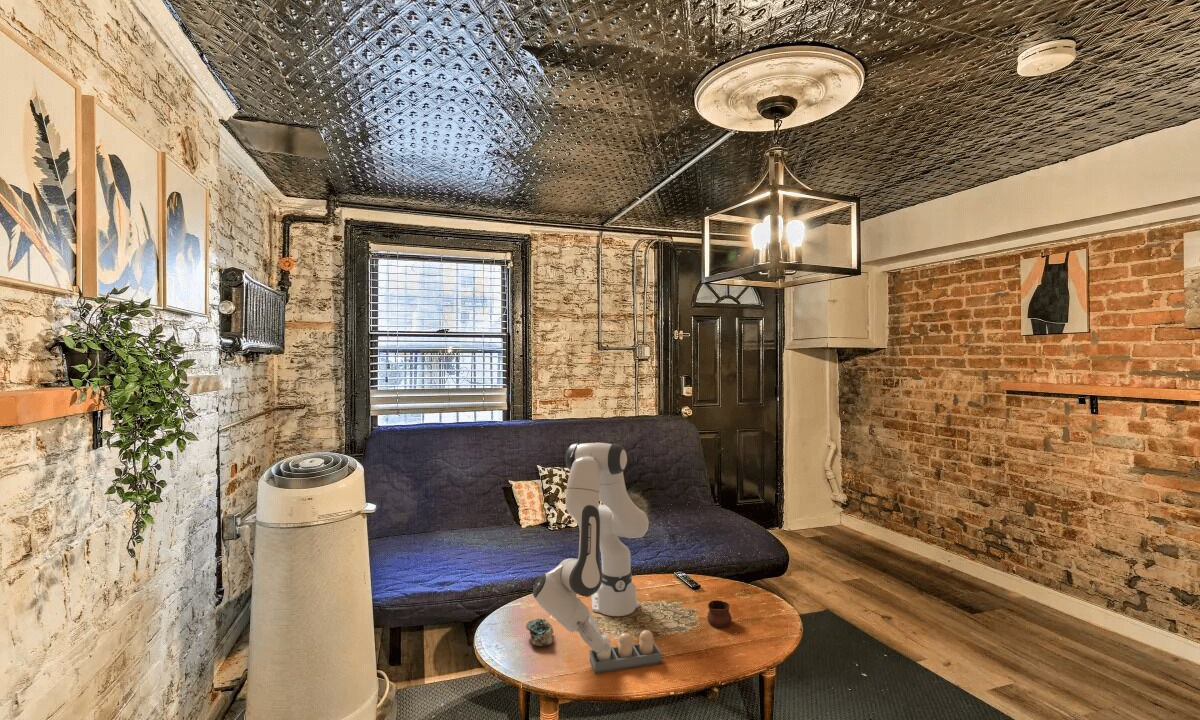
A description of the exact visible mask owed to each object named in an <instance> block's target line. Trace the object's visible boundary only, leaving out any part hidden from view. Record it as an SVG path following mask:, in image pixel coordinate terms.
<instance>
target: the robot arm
mask: <svg viewBox="0 0 1200 720" xmlns="http://www.w3.org/2000/svg"><path fill="white" fill-rule="evenodd" d="M627 456H628V455H627V451H626V449H625V448H624V446H622V445H620V444H618V443H606V442H585V443H583V442H578V443H577V442H576V443H572V444H571V445H570V446H569V447H568V448H567V449H566V453H565V465H566V467H567V469H568V470H569V474H568V479H567V483H566V491H565V501H564V502H565V509H566V512H567V513H568V514H569V515H570V517H572V518H573V519H574V520H575V522H576V523H577V525H578V528H579V530H578V531H579V542H578V558H571V557H569V558H568V557H567V558H566V559H563V560H561V562H559V563H558V565H557V566H556V567H554V568H553V569H551V570H550V571H548V572H544V573H542V574H540V575H539V577H538V578H537V579H536V580H535V583H534V585H533V589H532V595H533V598H534V599H535V602H537V603H538V605H539V607H541V609H543V610H544V611H545V612H547V614H549V615H551V616H553V617H554V618H555V619H556V621H557V622H558V623H559V624H560V625H562V627H564V628H565V629H566V630H567V631H568V632H570V633H573V632H576V633H579V635H580V638H581V639H582V640H583V641H584V642H585V644H587V645H588V647H590V649H591V650H594V651H595V652H596V653H600V652H601V651H602V650H603V649H604V650H605V651H608V650H609V649H610V645H609V644H608V643H607V642H605V641H604V639H603V637H602V635H605V633H604V632H603V631H602V630H601V629H600V628H599V627H598V624H597V623H596V621H595V618H594V616H593V615H592V613H591V612H590V610H589V606H587V605H586V604H585V603H584V602H583V601H582V600H581V599H580V598H579V597H578V596H577V595H579V596H581V597H590V599H591V611H592V612H594V613H600V614H603V615H606V616H609V617H624V616H628V615H630V614H632V613H634V611H636V609H637V608H639V607H640V606H641V603H640V601H638V599H637V590H636V587H637V586H636V585H635V583H634V582H633V573H632V570H631V551H630V549H629V547H628V546H627V545H625V544H624V543H623V542H622V541H621V540H620V539H619V538H620V537H621V538H626V539H637V538H638V539H639V538H643V537H644V536H645V535H646V533H647V531H648V530H649V525H650V524H649V517H648V516H647V514H646V512H645V511H643V510H642V509H640V508H639V507H638V506H637V505H636V504H635V503H634V501H632V499H631V497H630V496H629V493H628V491H627V487H626V483H625V477H624V471H625V469H626V466H627V463H628V458H627ZM599 502H600V503H599ZM601 503H602V504H601ZM600 557H601V561H600Z"/></svg>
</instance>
